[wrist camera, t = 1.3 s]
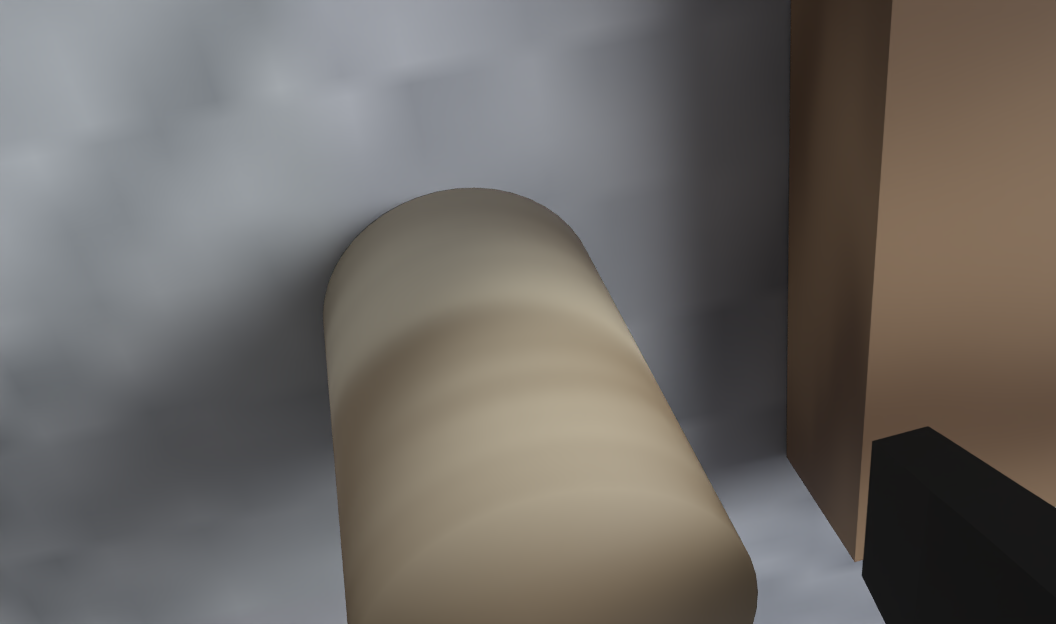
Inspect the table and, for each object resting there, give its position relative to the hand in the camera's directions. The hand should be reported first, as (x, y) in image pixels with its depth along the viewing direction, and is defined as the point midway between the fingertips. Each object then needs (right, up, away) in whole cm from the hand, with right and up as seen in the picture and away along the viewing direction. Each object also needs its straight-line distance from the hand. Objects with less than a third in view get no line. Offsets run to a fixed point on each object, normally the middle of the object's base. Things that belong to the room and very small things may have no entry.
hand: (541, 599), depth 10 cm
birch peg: (-1, +3, +4) cm, 5 cm away
